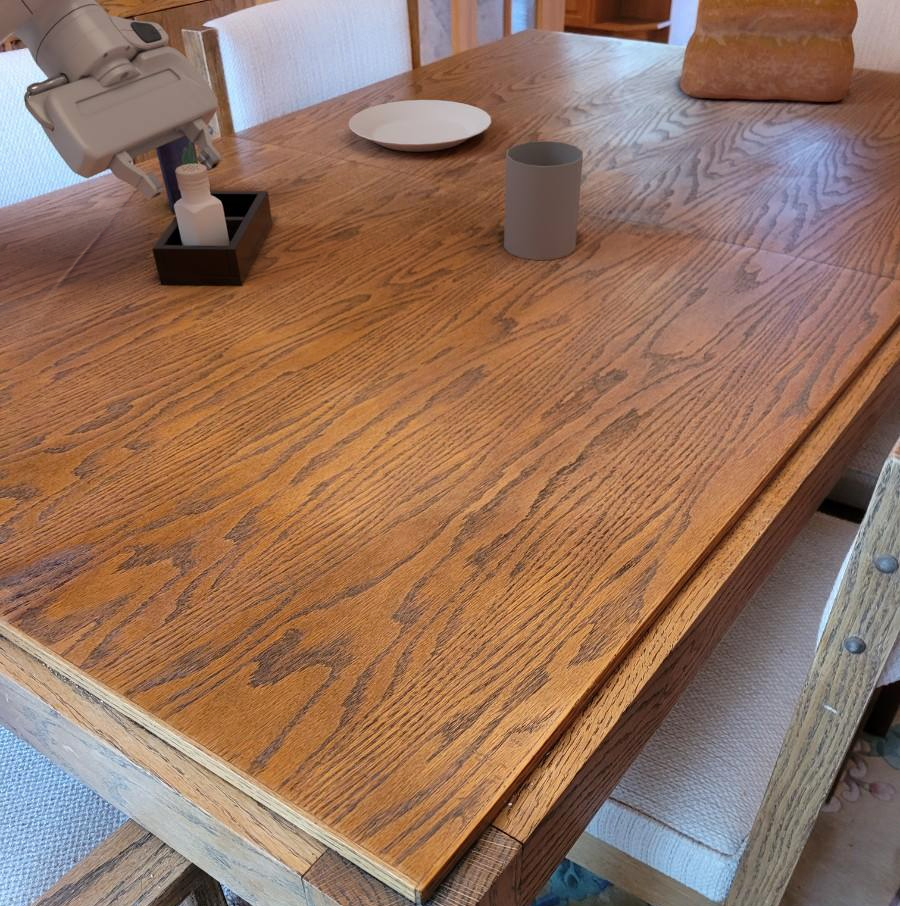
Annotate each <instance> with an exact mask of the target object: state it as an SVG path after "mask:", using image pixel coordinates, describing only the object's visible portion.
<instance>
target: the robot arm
mask: <svg viewBox="0 0 900 906" xmlns="http://www.w3.org/2000/svg"><path fill="white" fill-rule="evenodd" d="M11 35H13V36H14V37H16V38H18V39H19V40H20V41H21V42H22V43H23V44H24V45H25V47H26V48H27V50H28V51H29V53H30V55H31V57H32V59H33V61H34V63H35V64H36V66H37V67H38V68H39V69H40V71H41V72H42V73H43V74H44V75H45V76H46V77H47V78H46V79H45V80H43V81H40V82H33V83H31V84H29V85H28V86H27V87H26V91H25V93H24V95H23V101H24V106H25V108H26V109H27V111H28V113H30V115H31V116H32V118H33V119H34V120H35V121H36V122H37V123H38V124H39V125H40V126H41V128H42V130H43V132H44V134H45V135H46V137H47V138H48V140H49V142H50V143H51V144H52V146H53V148H54V149H55V150H56V151H57V153H58V154H59V156H60V157H61V158H62V160H63V161H64V162H65V164H66V165H67V166H68V168H69V169H70V170H71V171H72V172H73V173H74V174H76V175H78V176H80V177H82V178H84V179H90V178H92V177H95V176H97V175H98V174H101V173H103V172H106V171H108V170H110V172H111V173H112V174H113V175H114V176H115V177H116V178H117V179H119V180H121V181H123V182H124V183H126V184H128V185H130V186H132V187H133V188H137V189H138V191H139V192H140V193H141V194H142V195H143V197H144V198H145V199H146V200H148V201H151V200H152V199H155V198H157V197H158V196H160V195H161V193H162V191H163V190H164V183H162V182H161V180H159V179H158V177H157V175H156V174H155V173H154V172H149V173H146V172H145V171H143V170H142V169H140V167H139V168H138V167H137V166H136V165H135V164H133V163H132V161H133V159H136V158H137V157H140V156H142V155H143V154H146V153H148V152H151V151H153V150H156V148H158V147H160V146H162V145H164V144H167V143H169V142H171V141H174V140H176V139H178V138H180V137H183V136H185V135H186V136H187V137H188V139H189V140H190V141H191V142H192V143H193V142H194V143H195V144H196V146H197V149H198V151H199V155H198V156H197V160H198V163H199V164H202V165H204V166H206V168H207V172H209V171H212V170H213V169H216V168H217V167H219V165H220V164H221V162H222V161H223V159H222V155H221V154H220V153H219V152H218V150H217V149H216V147H215V146H214V145H213V140H212V136H211V133H210V129H209V126H208V125H209V124H210V122H211V121H212V119H213V118H214V116H215V114H216V112H217V111H218V110H219V109H218V108H219V104H218V99H217V95H216V94H215V92H214V90H213V89H212V87H211V86H210V85H209V84H208V82H207V81H206V79H204V77H203V75H201V73H200V72H199V70H197V69H196V67H195V66H194V65H193V64H192V62H191V61H190V60H189V59H188V58H187V57H186V56H185V55H184V54H183V53H181V51H179V50H177V49H176V48H174V47H172V46H167V45H168V42H169V41H170V40H169V39H170V37H169V35H168V33H167V32H166V31H165V29H164V28H163V26H161V25H160V24H159V23H156V22H154V21H142V20H134V19H128V18H123V17H120V16H116V15H109V14H108V12H107V11H106V10H105V8H104V7H102V6H101V5H100V3H98V2H97V1H96V0H0V45H2V44H3V43H4V42H5V41H6V40H7V39H9V38H10V36H11Z"/></svg>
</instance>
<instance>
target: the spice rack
mask: <svg viewBox="0 0 900 906" xmlns="http://www.w3.org/2000/svg"><path fill="white" fill-rule="evenodd" d="M210 194H211V195H212V196H214V197H216V198H217V199H219V200H220V201H221V203H222V205H223V210H224V216H225V221H226V227H227V232H228V238H229V243H230V244H229V245H228V246H200V245H182V240H181V236H180V231H179V227H178V222H177V218H176V215H175V216H174V218H173V219H172V220H171V222H170V223H169V224H168V226H167V228H166V229H165V230H164V231H163V233H162V235H161V236H160V237H159V238H158V240H157V241H156V242H155V244H154V246H152V248H151V250H152V254H153V258H154V262H155V267H156V271H157V275H158V279H159V283H160V285H161V286H230V287H231V286H232V287H233V286H237V287H239V286H240V287H241V286H243V284H244V282H245V280H246V278H247V276H248V275H249V272H250V271H251V268H252V266H253V264H254V263H255V260H256V259H257V257H258V255H259V253H260V251H261V249H262V247H263V244H264V243H265V242H266V239H267V237H268V236H269V233H270V231H271V229H272V227H273V220H272V218H273V217H272V211H271V204H270V198H269V191H268V190H210Z"/></svg>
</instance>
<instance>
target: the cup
mask: <svg viewBox="0 0 900 906" xmlns="http://www.w3.org/2000/svg"><path fill="white" fill-rule="evenodd" d="M583 159H584V151H583V150H582V149H581V148H579V147H577V145H573V144H569V143H566V142H562V141H551V140H537V141H536V140H535V141H527V142H522V143H518V144H515V145H513V146H512V147H510V148H508V149H507V150H506V154H505V183H504V184H505V186H504V187H505V188H504V189H505V190H504V196H505V197H504V220H503V222H504V223H503V224H504V227H503V233H504V234H503V248H504V249H505V250H506V251H507V252H508V254H511V255H513V256H516V257H518V258H520V259H525V260H533V261H550V260H552V261H553V260H556V259H561V258H563V257H568V256H569V255H570V254H572V253H573V252H574V251H576V247H577V233H578V223H579V221H578V220H579V210H580V196H581V183H582V172H583Z"/></svg>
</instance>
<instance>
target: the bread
mask: <svg viewBox="0 0 900 906" xmlns="http://www.w3.org/2000/svg"><path fill="white" fill-rule="evenodd" d="M858 19H859V10H858V4H857V1H856V0H701V2H700V3H699V6H698V10H697V25H696V29H695V30H694V31H693V33H692V34H691V36H690V37H689V40H688V42H687V44H686V47H685V51H684V56H683V62H682V68H681V75H680V82H679V85H680V89H681V91H682V92H683V93H684V94H686V95H688V96H690V97H692V98H698V99H722V100H728V99H729V100H731V99H736V100H737V99H738V100H740V99H741V100H755V101H757V100H758V101H762V100H781V101H794V102H795V101H797V102H823V103H824V102H826V103H827V102H829V103H830V102H831V103H832V102H838V101H841V100H844V98H845V97H846V95H847V93H848V92H849V88H850V84H851V82H852V78H853V77H852V76H853V72H854V65H855V60H856V59H855V57H856V53H855V48H854V42H853V41H854V40H853V36H852V35H853V33H854V31H855V28H856V25H857V23H858Z"/></svg>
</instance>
